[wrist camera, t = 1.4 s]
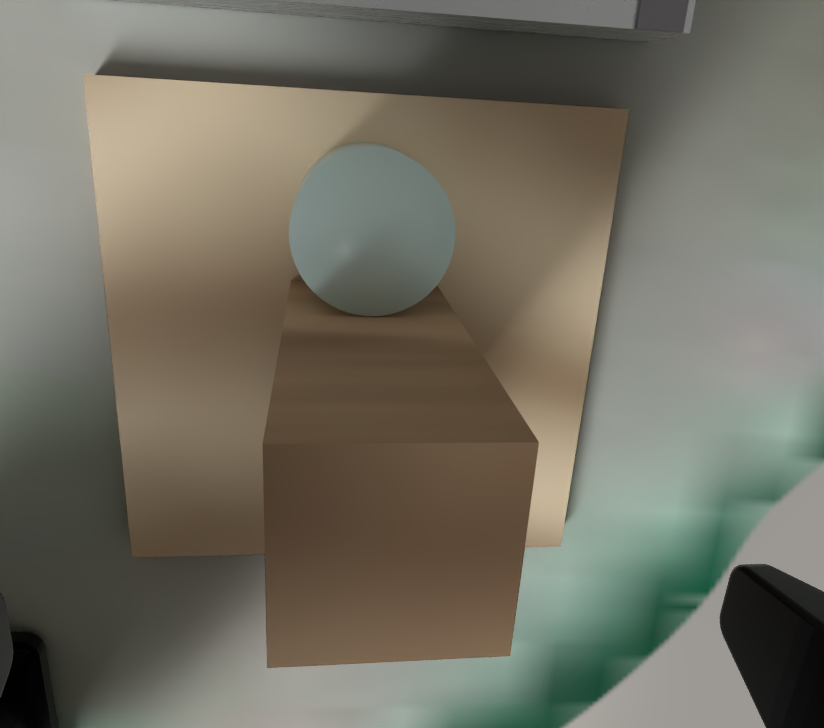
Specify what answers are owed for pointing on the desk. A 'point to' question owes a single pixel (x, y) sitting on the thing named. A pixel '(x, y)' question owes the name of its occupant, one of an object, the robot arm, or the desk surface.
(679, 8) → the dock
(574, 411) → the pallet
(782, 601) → the robot arm
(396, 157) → the grey-green round cylinder
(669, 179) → the desk surface
